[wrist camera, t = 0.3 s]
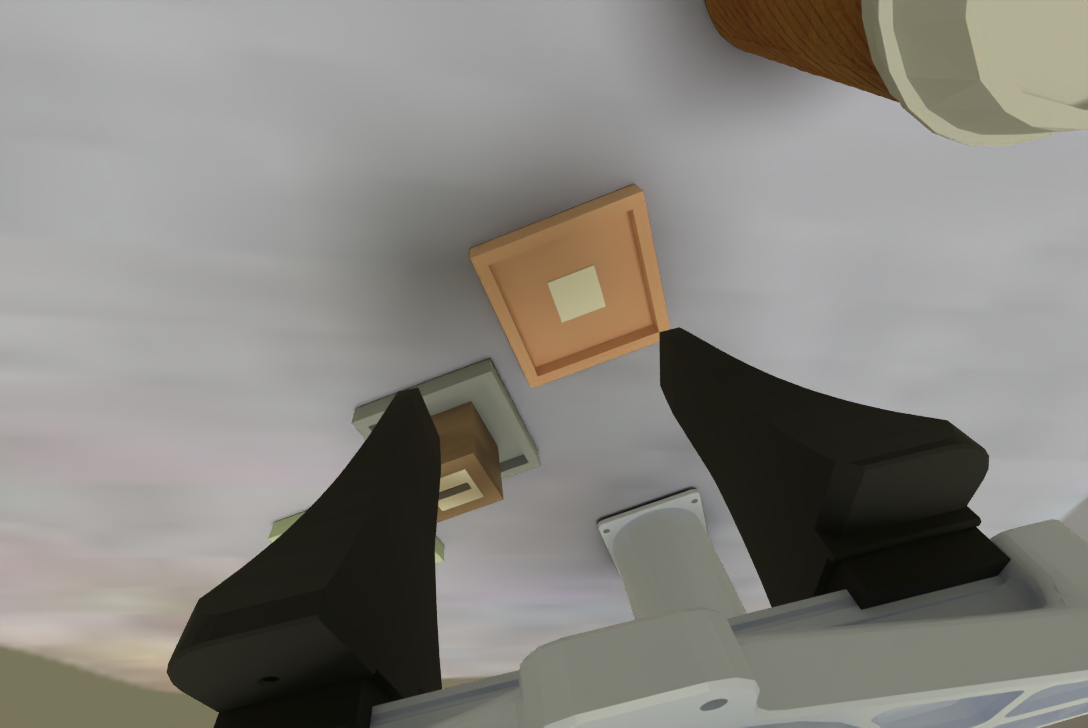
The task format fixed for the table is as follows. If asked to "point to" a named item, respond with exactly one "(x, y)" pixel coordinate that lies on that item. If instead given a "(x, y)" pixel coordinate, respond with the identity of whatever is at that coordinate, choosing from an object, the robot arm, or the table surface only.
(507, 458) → the slate dish
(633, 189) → the terracotta dish
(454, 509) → the letter cube
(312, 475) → the table surface
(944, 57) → the disposable coffee cup
